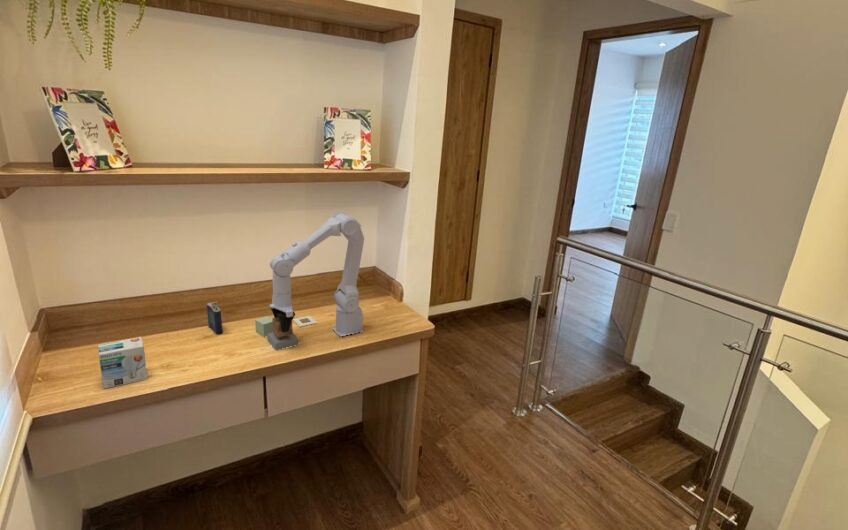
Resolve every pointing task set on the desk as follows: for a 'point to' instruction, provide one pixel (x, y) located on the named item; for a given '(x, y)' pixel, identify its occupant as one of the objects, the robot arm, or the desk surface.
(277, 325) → the walnut block
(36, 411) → the desk surface
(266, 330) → the sage block
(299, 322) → the placard
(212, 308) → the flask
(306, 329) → the desk surface
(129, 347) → the light bulb box
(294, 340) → the slate slab
